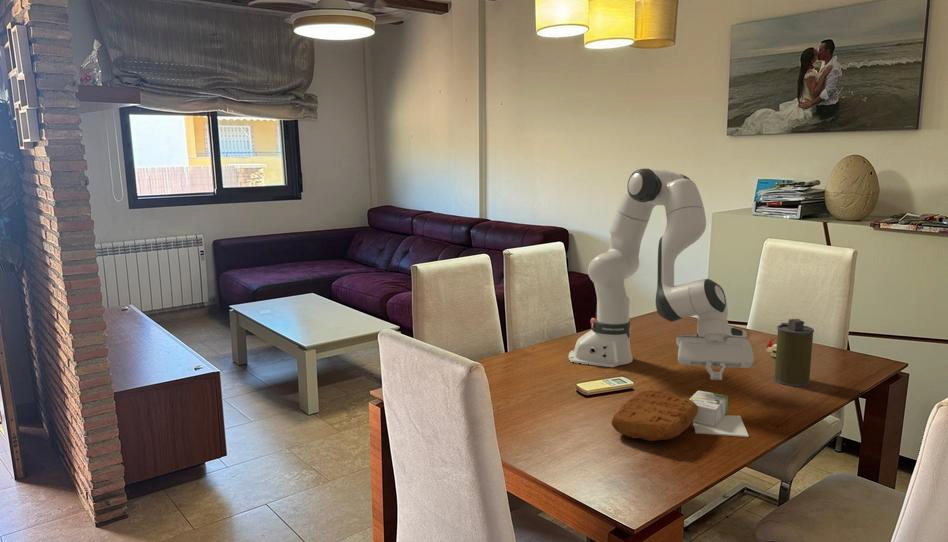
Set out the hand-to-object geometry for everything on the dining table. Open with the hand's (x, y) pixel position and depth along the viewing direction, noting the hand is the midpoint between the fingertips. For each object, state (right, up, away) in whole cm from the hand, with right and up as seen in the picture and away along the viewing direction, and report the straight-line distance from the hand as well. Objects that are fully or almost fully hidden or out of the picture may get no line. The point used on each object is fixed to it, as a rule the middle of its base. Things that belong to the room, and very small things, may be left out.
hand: (716, 378), depth 179 cm
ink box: (0, -7, +3) cm, 7 cm away
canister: (+34, -5, +26) cm, 43 cm away
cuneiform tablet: (-20, -12, -10) cm, 25 cm away
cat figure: (+45, 0, +55) cm, 71 cm away
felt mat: (-2, -11, -6) cm, 13 cm away
